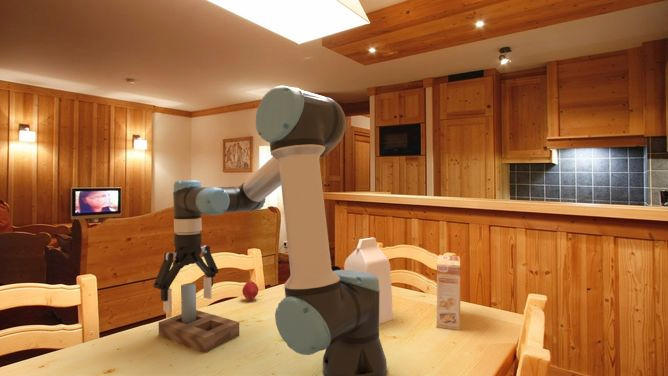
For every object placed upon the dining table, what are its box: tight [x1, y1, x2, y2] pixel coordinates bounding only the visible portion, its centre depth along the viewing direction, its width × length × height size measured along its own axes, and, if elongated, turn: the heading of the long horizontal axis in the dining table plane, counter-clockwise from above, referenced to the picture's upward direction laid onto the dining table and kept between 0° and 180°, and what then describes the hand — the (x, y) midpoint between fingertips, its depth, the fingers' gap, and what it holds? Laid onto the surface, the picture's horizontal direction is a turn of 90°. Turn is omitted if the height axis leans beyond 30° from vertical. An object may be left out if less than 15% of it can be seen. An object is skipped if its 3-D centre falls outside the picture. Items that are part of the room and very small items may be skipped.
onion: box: [241, 279, 259, 302], centre depth 133 cm, size 6×6×8 cm
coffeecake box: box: [436, 254, 461, 331], centre depth 114 cm, size 15×7×20 cm, turn 161°
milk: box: [343, 237, 394, 325], centre depth 115 cm, size 12×12×26 cm
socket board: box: [158, 309, 240, 354], centre depth 103 cm, size 20×12×4 cm, turn 59°
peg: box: [180, 283, 197, 324], centre depth 105 cm, size 4×4×14 cm
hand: (188, 304), depth 105 cm, fingers open, 13 cm apart
